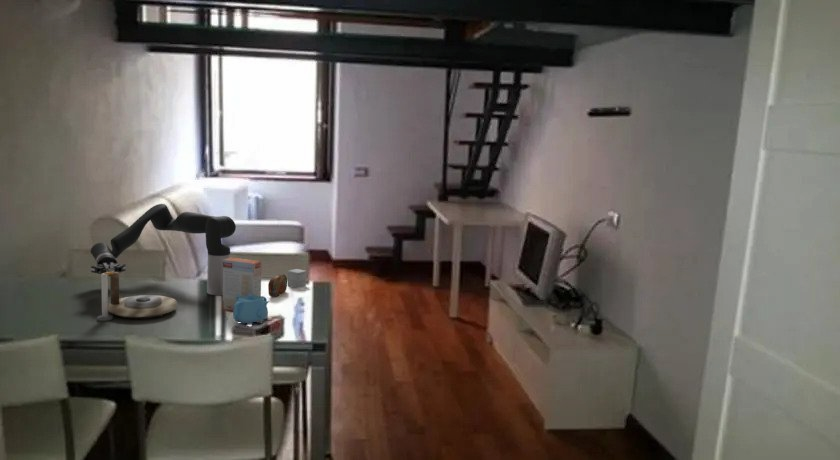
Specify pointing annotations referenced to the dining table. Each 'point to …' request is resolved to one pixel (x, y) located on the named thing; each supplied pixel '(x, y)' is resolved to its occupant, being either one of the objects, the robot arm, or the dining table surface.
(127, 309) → the turntable
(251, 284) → the cracker box
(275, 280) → the brown rounded slab
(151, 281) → the dining table surface
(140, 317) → the turntable base
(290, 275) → the grey rounded block
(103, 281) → the post
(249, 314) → the teapot
